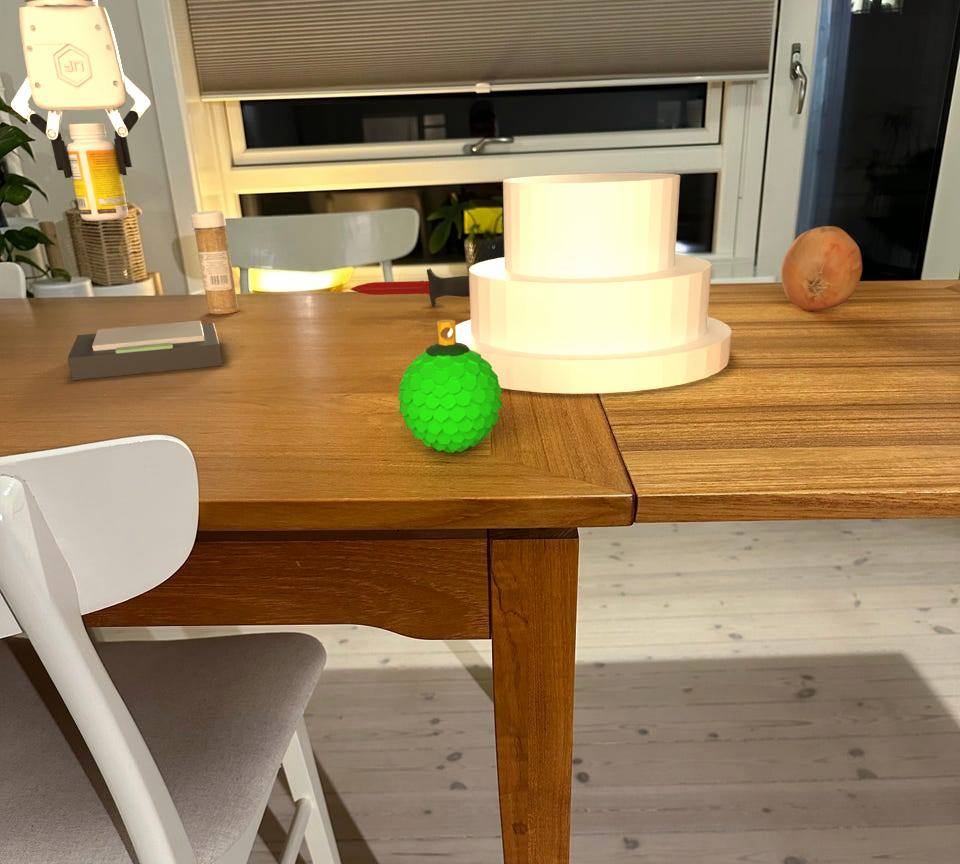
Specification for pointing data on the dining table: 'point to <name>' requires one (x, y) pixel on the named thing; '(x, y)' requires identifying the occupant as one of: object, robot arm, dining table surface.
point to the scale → (144, 350)
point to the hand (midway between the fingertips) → (96, 174)
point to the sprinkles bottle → (215, 261)
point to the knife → (420, 287)
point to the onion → (821, 268)
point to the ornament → (450, 395)
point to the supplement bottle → (96, 173)
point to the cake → (593, 289)
